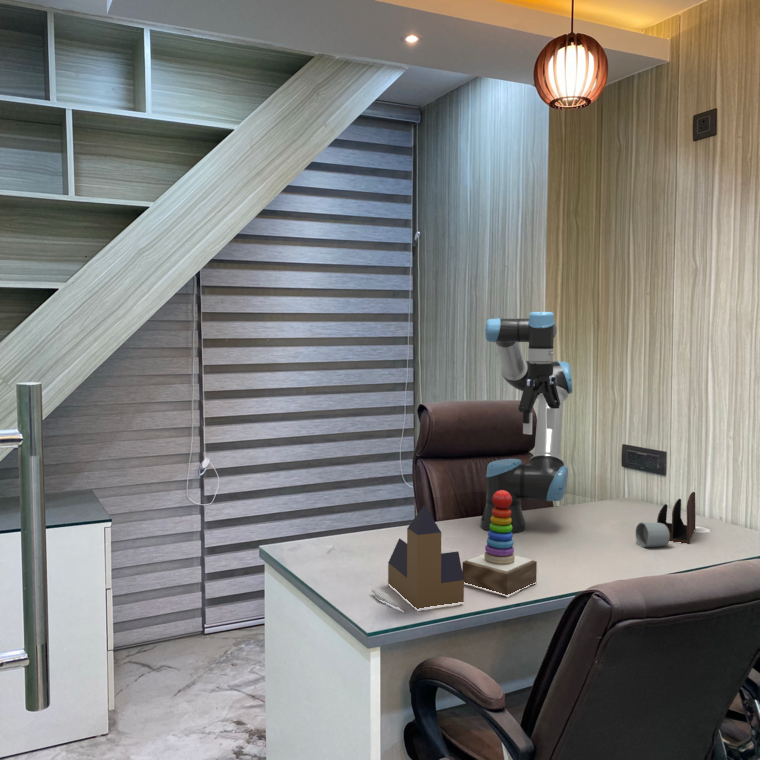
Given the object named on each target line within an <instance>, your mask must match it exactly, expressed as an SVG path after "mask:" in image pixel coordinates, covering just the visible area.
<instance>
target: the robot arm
mask: <svg viewBox="0 0 760 760" xmlns="http://www.w3.org/2000/svg"><path fill="white" fill-rule="evenodd" d="M557 329H558V328H557V325H556V324H555V314H554V312H552V311H531V312H530V313H529V315H528V318H500V317H497V318H489V319H487V321H486V322H485V330H484V331H485V339H486V341H487V342H490V343H495V346H496V349H497V352H498V356H499V360H500V363H501V365H500V372H501V375H502V377H503V378H504V381H505V382H507V384H509V385H510V386H511V387H513V388H515V389H516V390H518V391H522V394H521V398H520V402H519V405H518V411H519V412H520V413H522V434H523V435H533V412H532V410H533V407H534V406H535V403H536V401H537V399H538V403H537V405H538V406H537V417H536V427H535V428H536V429H535V440H534V441H535V442H534V452H533V453H534V454H533V456H531V457H530V458H529V460H528V464H527V463H526V464H523V462H522V460H521V459H520V458H504V459H498V460H494V461H491V462H489V463H488V464H487V467H486V474H485V478H486V495H485V497H486V498H485V503H486V504H485V507H484V510H483V512H482V516H481V518H480V527H482V528H481V529H483V530H484V529H485V531H487V532H489V531H490V530H491V529H490V524H491V523H492V522H491V517H492V516H493V514H492V509H493V508H495V505H494V504H493V495H494V494H495V493H496V492H497V491H499V490H505V491H507V492H508V493H509V494H510V495H511V497H512V503H511V505H510V506H509V507H508V509H510V510H511V515H510V516H509V517H510V518H511V520H512V522H511V523H510V524H511V525H512V531H511V532H512V533H513V534H516V533H520V532H521V533H522V532H524V531H525V530H526V523H527V522H526V519H525V516H524V513H523V509H522V506H521V504H522V503H521V501H522V499H523V500H532V501H543V502H545V501H546V502H560V501H562V500H563V498H564V497H565V492H566V489H567V485H568V476H569V468H568V467H567V466H566V465H565V463H564V461H563V459H562V458H561V446H562V445H561V443H562V442H561V441H562V426H563V411H564V402H565V401H566V400H567V399H568V396H569V395H570V394H572V393H573V383H572V382H573V381H572V371H571V370H572V369H571V364H570V363H569V362H567V361H559V360H556V361H554V354H555V353H554V343H555V340H554V339H555V337H556V335H557ZM520 343H528V348H527V349H528V352H527V353H528V354H527V360H525V358H523V354H522V349H521V344H520Z"/></svg>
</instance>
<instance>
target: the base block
mask: <svg viewBox="0 0 760 760" xmlns="http://www.w3.org/2000/svg"><path fill="white" fill-rule="evenodd" d="M484 554H485V552H484V553H482V554H479V555H477V556H474V557H472V558H469V559H467V560H463V561H462V564H461V567H462V573H463V578H464V582H465V583H468V584H472V585H475V586H478V587H482V588H486V589H489V590H492V591H496V592H499V593H502V594H505V595H508V594H511V593H513V592H515V591H517V590H519V589H522V588H524V587H526V586H528V585H530V584H533V583H535V582H536V583H537V568H538V567H537V565H538V564H537V563H538V561H536V560H532V559H529V558H526V557H522V556H519V555H515V554H514V556H515V559H514V561H513V562H511V563H508V564H497V563H492V562H489V561H487V560H486V559H485V557H484Z"/></svg>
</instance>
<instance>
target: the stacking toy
mask: <svg viewBox="0 0 760 760" xmlns="http://www.w3.org/2000/svg"><path fill="white" fill-rule="evenodd" d="M511 503H512V497H511V495H510V494H509V493H508V492H507V491H505V490H499V491H497V492H496V493H495V494H494V495H493V504H494V505H495V508H493V509H492V514H493V516H492V517H491V522H492V523H491V524H490V529H491V530H490V531H487V535H488V536H487V537H488V538H487V539H486V545H485V549H484V550H485V552H484V553H485V554H484V553H483V554H484V557H485V559H486V560H487V561H489V562H492V563H497V564H508V563H511V562H513V561H514V559H515V556H516V555H515V554H514V552H515V549H514V547H513V546H514V540H513V537H514V536H513V535H514V533H512V532H511V531H512V525H511V524H510V523H511V522H512V520H511V518H510V517H509V516H510V515H511V510H510V509H508V507H509V506H510V505H511ZM514 555H515V556H514Z"/></svg>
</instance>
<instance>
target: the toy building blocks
mask: <svg viewBox="0 0 760 760" xmlns="http://www.w3.org/2000/svg"><path fill="white" fill-rule="evenodd" d="M406 534H407V537H406V540H407V541H404V540H403V539H401V538H398V540H397V542H396V545H395V547H394V548H393V552H392V553H391V555H390V558H389V560H388V562H387V564H388V565H387V575H388V577H387V584H388V583H389V584H390V585H391V586H392V587H393V588H395V589H396V590H397V591H398V592H399V593H400V594H401V595H402V596H403V597H404V598H405V599H407V600H408V601H409V602H410V603H411V604H412V605H413V606H414V607H416V608H417V609H419V608H424V607H430V606H437V605H444V604H452V603H458V602H464V603H465V600H464V599H465V585H464V578H463V573H462V563H461V559H460V554H459V551H449V552H443V553H442V531H441V529H440V528H439V526H438V524H437V523H436V522H435V520H434V518H433V516H432V514H431V513H430V512H429V510H428V509H427V507H426V505H425V504H424V505H423V507H422V508H421V509H420V510H419V512H418V513H417V514H416V515H415V517H414V519H413V520H412V521H411V522H410V524H409V525H408V527H407V530H406Z"/></svg>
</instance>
